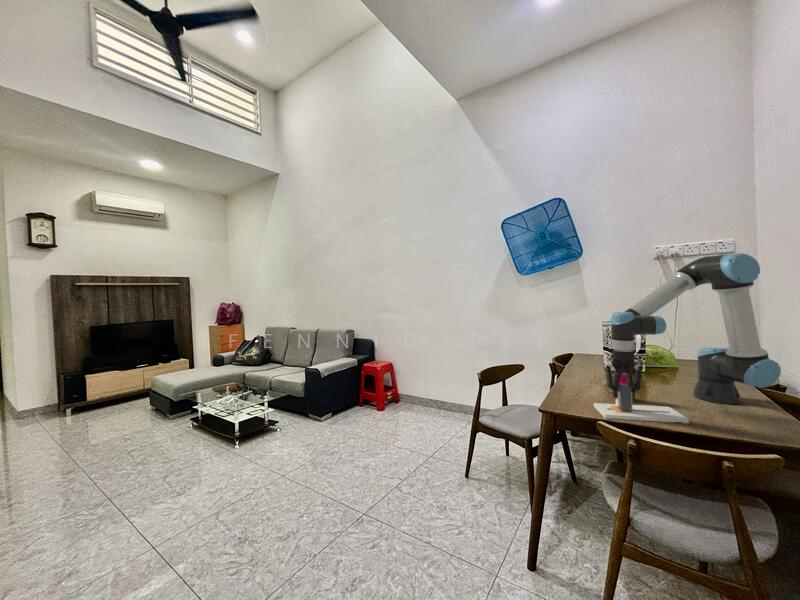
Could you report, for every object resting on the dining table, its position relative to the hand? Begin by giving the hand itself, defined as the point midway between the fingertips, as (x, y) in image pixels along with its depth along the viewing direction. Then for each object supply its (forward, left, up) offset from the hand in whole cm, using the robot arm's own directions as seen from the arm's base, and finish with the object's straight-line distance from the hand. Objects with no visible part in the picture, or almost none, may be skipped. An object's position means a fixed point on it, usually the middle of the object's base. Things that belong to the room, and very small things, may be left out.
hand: (623, 406), depth 129 cm
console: (-5, 0, -3) cm, 6 cm away
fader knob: (0, 0, -1) cm, 1 cm away
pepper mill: (-6, -18, -3) cm, 19 cm away
